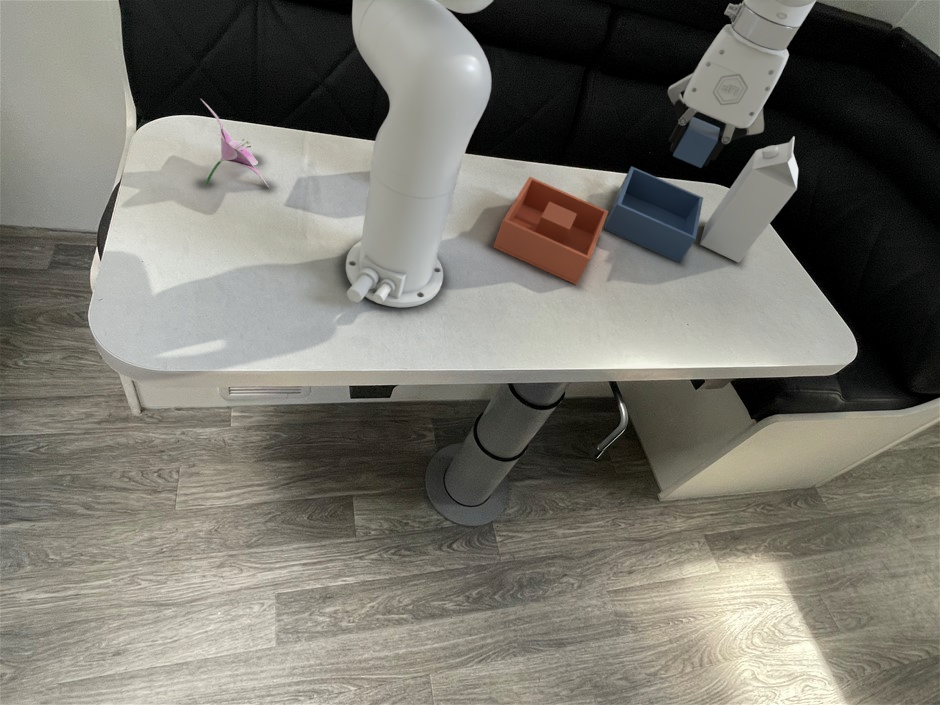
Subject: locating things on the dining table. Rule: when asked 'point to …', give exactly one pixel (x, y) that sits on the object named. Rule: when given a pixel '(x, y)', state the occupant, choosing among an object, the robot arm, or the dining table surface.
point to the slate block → (697, 142)
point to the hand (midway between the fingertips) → (689, 153)
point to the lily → (234, 151)
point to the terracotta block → (555, 222)
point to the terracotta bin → (541, 250)
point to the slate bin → (655, 214)
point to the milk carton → (752, 201)
